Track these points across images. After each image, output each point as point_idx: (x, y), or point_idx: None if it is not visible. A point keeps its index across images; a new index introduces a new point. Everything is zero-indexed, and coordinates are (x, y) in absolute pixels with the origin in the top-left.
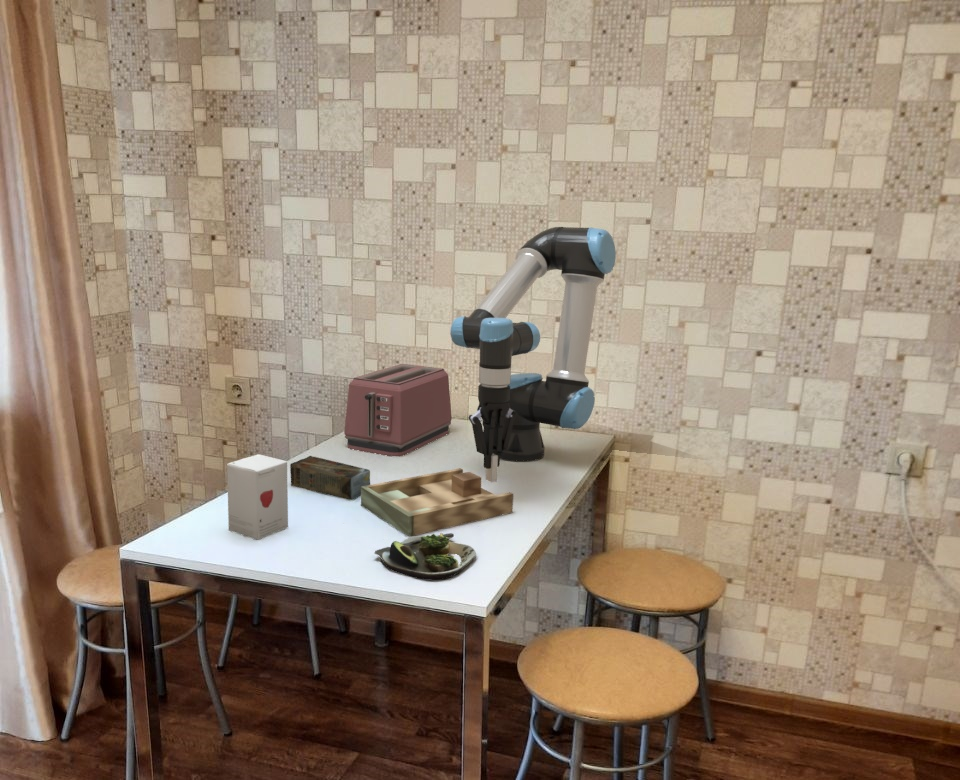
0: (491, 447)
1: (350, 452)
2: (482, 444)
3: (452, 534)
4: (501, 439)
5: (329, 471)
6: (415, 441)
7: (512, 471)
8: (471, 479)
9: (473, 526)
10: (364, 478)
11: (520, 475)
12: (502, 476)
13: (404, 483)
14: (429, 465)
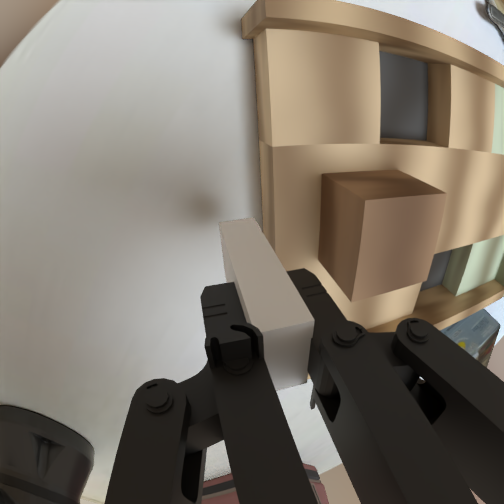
0: (367, 388)
1: (323, 460)
2: (479, 377)
3: (491, 6)
4: (245, 501)
5: (488, 356)
6: (233, 486)
7: (61, 383)
8: (416, 195)
9: (420, 19)
10: (467, 342)
11: (44, 356)
12: (97, 367)
13: (451, 309)
14: None
